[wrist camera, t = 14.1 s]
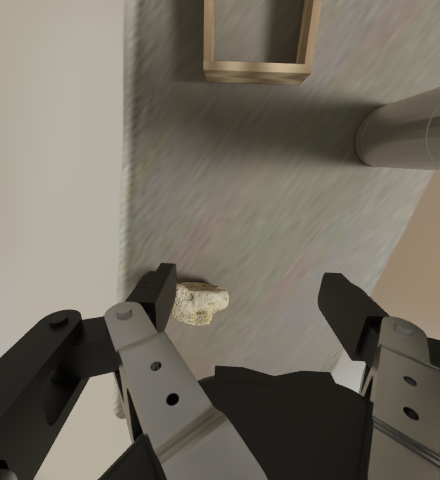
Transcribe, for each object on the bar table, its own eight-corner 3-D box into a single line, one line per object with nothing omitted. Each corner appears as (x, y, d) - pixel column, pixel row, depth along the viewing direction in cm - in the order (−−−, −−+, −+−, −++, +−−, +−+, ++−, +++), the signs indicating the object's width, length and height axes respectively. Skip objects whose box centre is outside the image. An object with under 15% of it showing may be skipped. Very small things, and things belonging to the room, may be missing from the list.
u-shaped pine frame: (317, -44, 29) (334, -82, 25) (299, 85, 34) (310, 73, 30) (208, -46, 30) (205, -85, 25) (206, 81, 34) (203, 69, 30)
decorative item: (168, 295, 48) (154, 328, 39) (176, 260, 45) (162, 287, 36) (221, 308, 49) (220, 344, 40) (232, 275, 46) (233, 304, 37)
